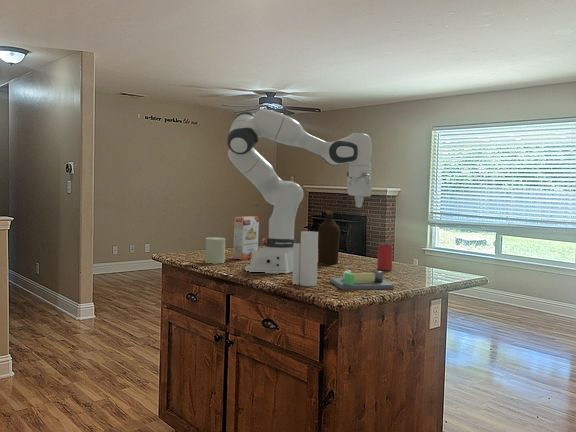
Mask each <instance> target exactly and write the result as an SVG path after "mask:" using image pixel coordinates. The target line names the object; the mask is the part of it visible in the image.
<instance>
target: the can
mask: <svg viewBox="0 0 576 432" xmlns="http://www.w3.org/2000/svg"><path fill="white" fill-rule="evenodd" d="M205 262H206V263H224V262H225V263H226V238H225V237H218V236H217V237H216V236H215V237H214V236H213V237H212V236H211V237H206V238H205ZM205 262H204V263H205ZM206 263H205V264H206ZM225 263H224V264H225Z"/></svg>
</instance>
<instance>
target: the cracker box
mask: <svg viewBox="0 0 576 432" xmlns="http://www.w3.org/2000/svg"><path fill="white" fill-rule="evenodd" d="M233 220H234V223H233V226H234V227H233V246H232V247H233V250H232V260H236V259H240V260H239V261H244V260H243V259H246V260H249V259H248V258H252V256H253V254H255V253H256V252H257V251H259V233H260V232H259V230H260V229H259V227H260V217H259V216H253V215H251V216H235V217H234V219H233Z"/></svg>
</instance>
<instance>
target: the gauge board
mask: <svg viewBox="0 0 576 432" xmlns="http://www.w3.org/2000/svg"><path fill="white" fill-rule="evenodd" d="M329 282H331V283H332V284H333V285H334V286H336V287H337V288H339V289H340V290H341V291H342V290H343V291H344V290H347V291H348V290H350V291H351V290H352V291H355V290H359V291H360V290H395V284H393V283H392V282H389V281H387V280H385V279H383V282H355V283H354V274H353V273H352V270H350V269H348V270H346V271H343V274H342V277H330V279H329Z"/></svg>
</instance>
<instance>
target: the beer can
mask: <svg viewBox="0 0 576 432" xmlns="http://www.w3.org/2000/svg"><path fill="white" fill-rule="evenodd" d="M393 251H394V249H393V244H392V243H391V242H380V243H378V247H377V264H376V266H377V267H376V268H377V271H382V270H383V272H388V271H392V270H393Z"/></svg>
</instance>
